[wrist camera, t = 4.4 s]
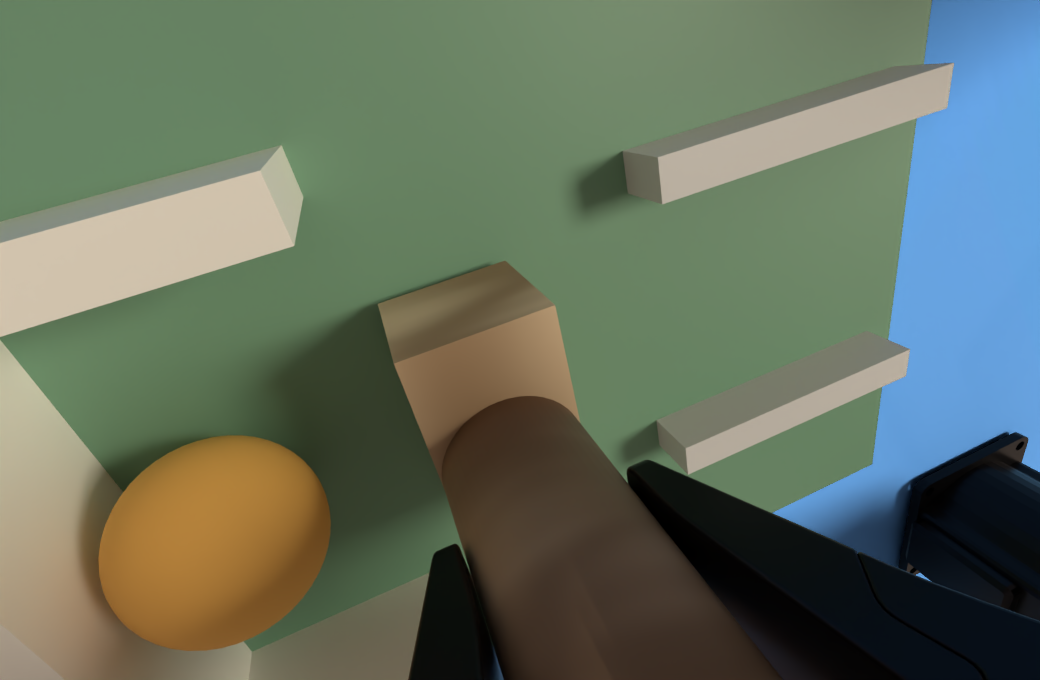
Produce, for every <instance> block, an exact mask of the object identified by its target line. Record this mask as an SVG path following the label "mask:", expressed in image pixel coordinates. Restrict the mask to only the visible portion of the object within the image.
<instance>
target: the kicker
mask: <svg viewBox="0 0 1040 680" xmlns="http://www.w3.org/2000/svg"><path fill="white" fill-rule="evenodd" d="M378 307H379V311H380V314H381V318H382V322H383V326H384V329H385V333H386V337H387V340H388V344H389V348H390V352H391V355H392V359H393V363H394V366H395V368H396V371H397V373H398V376H399V378H400V381H401V383H402V385H403V388H404V390H405V393H406V395H407V398H408V400H409V403H410V405H411V408H412V410H413V413H414V415H415V418H416V420H417V423H418V425H419V428H420V430H421V433H422V435H423V438H424V440H425V443H426V445H427V448H428V450H429V453H430V455H431V458H432V460H433V463H434V465H435V468H436V470H437V473H438V475H439V477H440V480H441V482H442V485H443V487H444V490H445V493H446V496H447V499H448V502H449V506H450V509H451V512H452V515H453V519H454V522H455V525H456V528H457V531H458V535H459V538H460V541H461V544H462V547H463V551H464V554H465V557H466V560H467V563H468V567H469V570H470V573H471V576H472V579H473V583H474V586H475V589H476V592H477V596H478V599H479V602H480V605H481V608H482V612H483V615H484V618H485V621H486V624H487V628H488V631H489V634H490V637H491V640H492V644H493V647H494V650H495V653H496V657H497V660H498V663H499V666H500V669H501V673H502V676H503V679H504V680H783V679H782V678H781V676H780V675H779V674H778V673H777V671H776V670H775V669H774V667H773V666H772V665H771V664H770V662H769V661H768V660H767V659H766V657H765V656H764V655H763V654H762V652H761V651H760V650H759V648H758V647H757V646H756V645H755V643H754V642H753V641H752V640H751V638H750V637H749V636H748V635H747V633H746V632H745V631H744V630H743V628H742V627H741V626H740V624H739V623H738V622H737V621H736V619H735V618H734V617H733V616H732V614H731V613H730V612H729V611H728V609H727V608H726V607H725V605H724V604H723V603H722V602H721V600H720V599H719V598H718V597H717V595H716V594H715V593H714V592H713V590H712V589H711V588H710V587H709V585H708V584H707V583H706V581H705V580H704V579H703V578H702V576H701V575H700V574H699V573H698V571H697V570H696V569H695V568H694V566H693V565H692V564H691V562H690V561H689V560H688V559H687V557H686V556H685V555H684V554H683V552H682V551H681V550H680V549H679V547H678V546H677V545H676V544H675V542H674V541H673V540H672V538H671V537H670V536H669V535H668V533H667V532H666V531H665V530H664V528H663V527H662V526H661V525H660V523H659V522H658V521H657V519H656V518H655V517H654V516H653V514H652V513H651V512H650V511H649V509H648V508H647V507H646V506H645V504H644V503H643V502H642V501H641V499H640V498H639V497H638V495H637V494H636V493H635V492H634V490H633V489H632V488H631V487H630V485H629V484H628V483H627V482H626V480H625V479H624V478H623V476H622V475H621V474H620V473H619V471H618V470H617V469H616V468H615V466H614V465H613V464H612V463H611V461H610V460H609V459H608V458H607V456H606V455H605V454H604V452H603V451H602V450H601V449H600V447H599V446H598V445H597V444H596V442H595V441H594V440H593V439H592V437H591V436H590V435H589V433H588V432H587V431H586V430H585V428H584V427H583V426H582V425H581V423H580V419H579V414H578V410H577V405H576V400H575V396H574V391H573V386H572V382H571V377H570V372H569V368H568V363H567V358H566V354H565V349H564V344H563V340H562V335H561V330H560V326H559V321H558V316H557V312H556V307H555V305H554V304H553V303H552V302H551V301H550V300H549V299H548V298H547V297H546V296H544V295H543V294H542V293H541V292H540V291H539V290H538V289H537V288H535V287H534V286H533V285H532V284H531V283H530V282H529V281H528V280H527V279H525V278H524V277H523V276H522V275H521V274H520V273H519V272H518V271H516V270H515V269H514V268H513V267H512V266H511V265H510V264H509V263H508V262H506V261H502V262H499V263H496V264H493V265H491V266H488V267H485V268H482V269H479V270H476V271H473V272H470V273H467V274H464V275H461V276H458V277H455V278H452V279H449V280H446V281H443V282H440V283H438V284H435V285H432V286H429V287H426V288H423V289H420V290H417V291H414V292H411V293H408V294H405V295H402V296H399V297H396V298H393V299H390V300H387V301H385V302H382V303H379V304H378Z"/></svg>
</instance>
